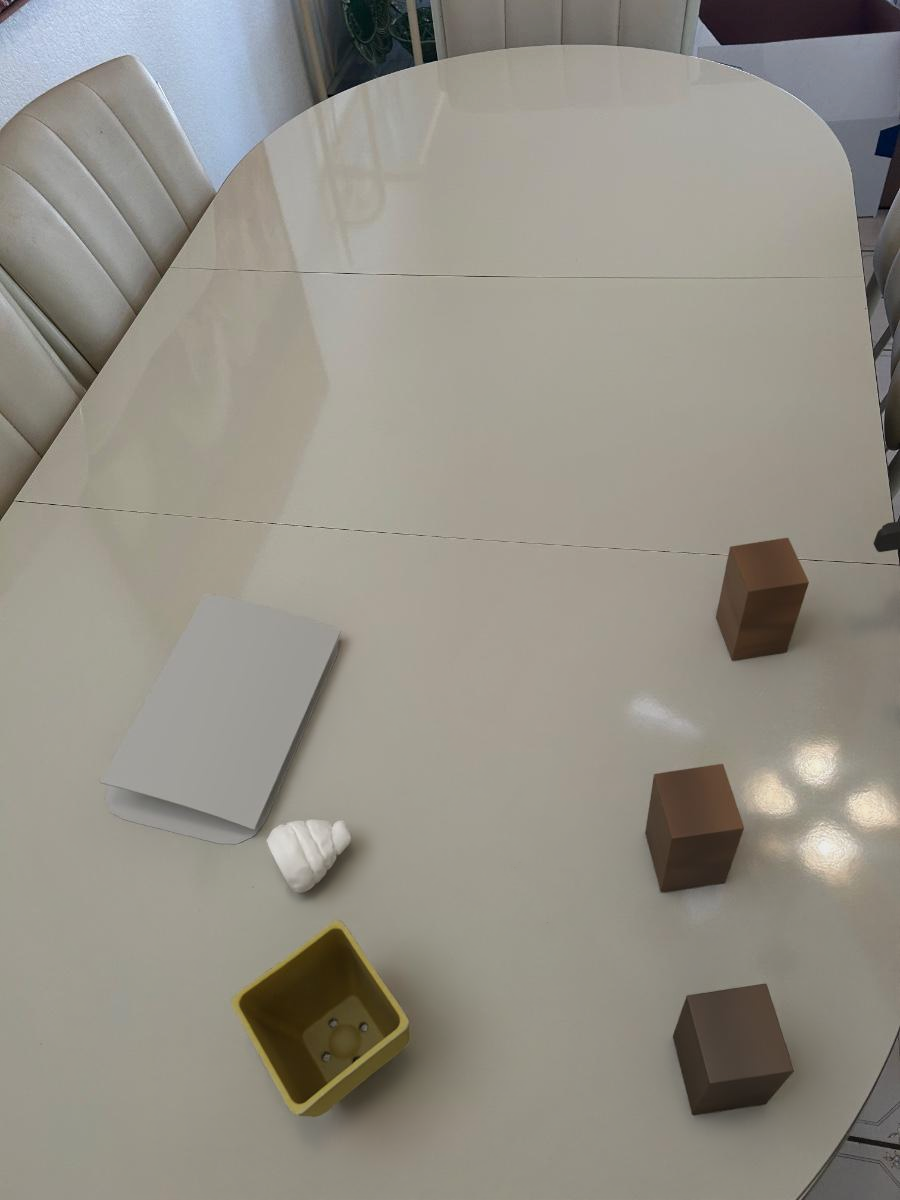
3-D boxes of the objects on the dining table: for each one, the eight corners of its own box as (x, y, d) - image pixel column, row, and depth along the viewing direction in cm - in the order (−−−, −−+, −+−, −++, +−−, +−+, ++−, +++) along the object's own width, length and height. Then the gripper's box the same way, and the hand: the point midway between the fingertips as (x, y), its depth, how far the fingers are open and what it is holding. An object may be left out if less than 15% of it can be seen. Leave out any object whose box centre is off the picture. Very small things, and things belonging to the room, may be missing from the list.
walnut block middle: (707, 823, 74) (723, 763, 67) (725, 883, 71) (744, 828, 64) (644, 832, 75) (653, 773, 67) (660, 893, 71) (671, 838, 64)
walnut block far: (768, 608, 87) (788, 537, 79) (787, 652, 84) (809, 582, 76) (715, 617, 87) (729, 546, 79) (731, 660, 84) (748, 591, 76)
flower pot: (324, 1142, 63) (293, 1119, 56) (262, 1033, 68) (226, 998, 61) (429, 1056, 66) (412, 1023, 59) (362, 957, 71) (339, 915, 64)
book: (93, 812, 81) (74, 791, 78) (206, 605, 94) (194, 580, 91) (253, 852, 77) (240, 832, 74) (348, 631, 90) (340, 606, 87)
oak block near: (743, 1025, 65) (766, 982, 57) (766, 1104, 62) (794, 1071, 54) (672, 1035, 65) (686, 995, 57) (692, 1115, 62) (709, 1084, 54)
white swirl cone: (368, 868, 75) (356, 839, 71) (301, 907, 74) (284, 880, 69) (339, 814, 78) (326, 784, 74) (274, 851, 77) (257, 822, 72)
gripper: (1081, 449, 72) (874, 481, 72) (1194, 589, 63) (958, 626, 64) (1043, 515, 78) (851, 545, 78) (1142, 652, 69) (925, 686, 69)
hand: (899, 582), depth 71 cm, fingers open, 8 cm apart
